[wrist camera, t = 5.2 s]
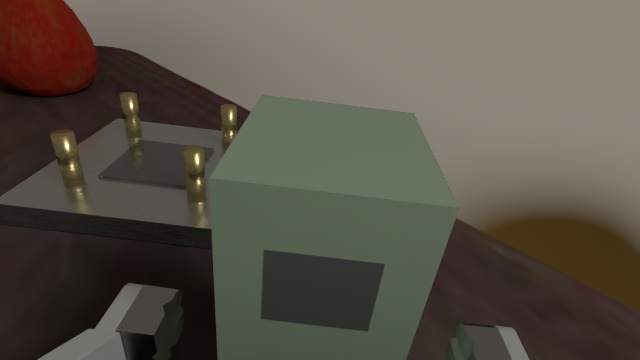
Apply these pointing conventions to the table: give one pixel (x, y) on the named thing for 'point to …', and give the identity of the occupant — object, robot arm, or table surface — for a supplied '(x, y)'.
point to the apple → (44, 48)
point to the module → (325, 232)
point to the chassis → (127, 181)
